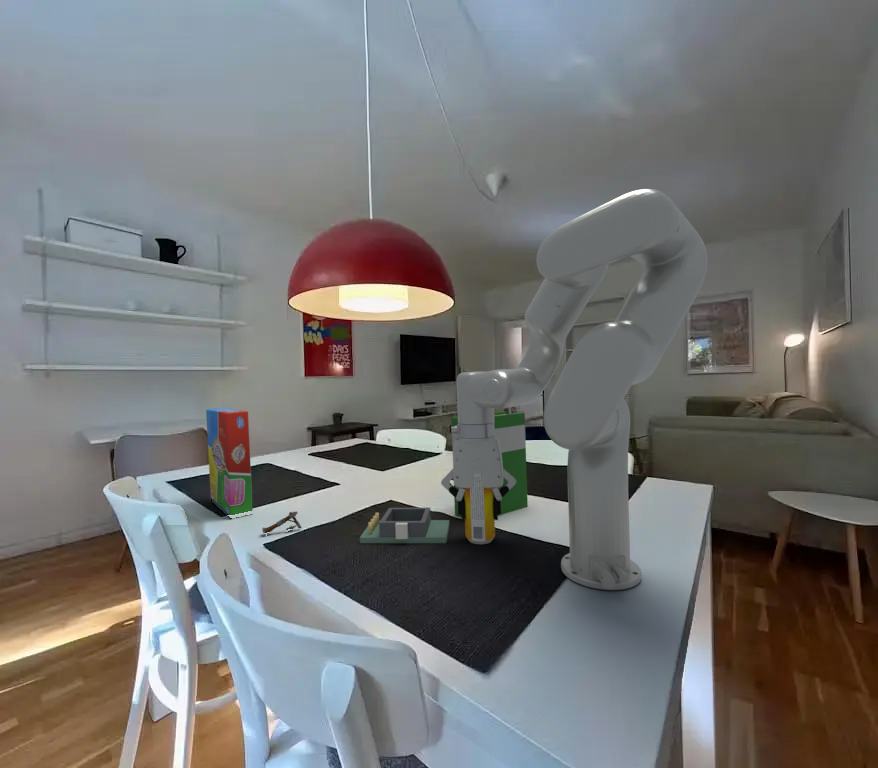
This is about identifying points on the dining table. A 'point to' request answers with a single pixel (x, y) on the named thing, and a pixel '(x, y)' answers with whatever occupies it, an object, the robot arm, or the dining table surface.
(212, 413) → the game box
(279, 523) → the wooden post with brackets
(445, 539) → the header board
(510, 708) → the dining table surface
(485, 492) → the beer can
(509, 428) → the green cereal box
